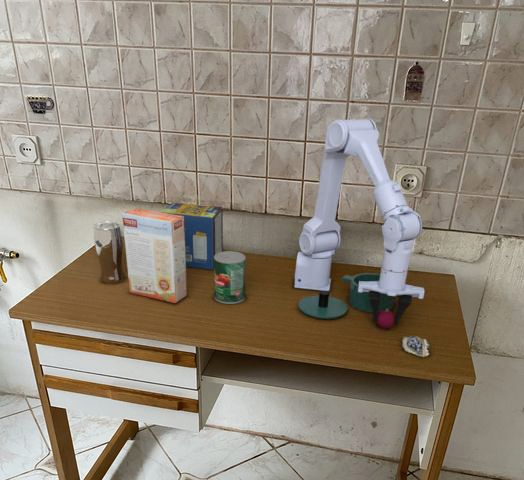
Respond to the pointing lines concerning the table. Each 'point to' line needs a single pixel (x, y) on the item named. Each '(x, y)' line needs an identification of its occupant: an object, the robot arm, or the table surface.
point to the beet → (385, 319)
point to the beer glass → (109, 251)
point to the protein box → (200, 232)
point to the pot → (366, 293)
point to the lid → (322, 306)
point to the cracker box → (155, 254)
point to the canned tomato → (229, 277)
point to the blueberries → (416, 345)
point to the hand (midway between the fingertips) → (384, 322)
